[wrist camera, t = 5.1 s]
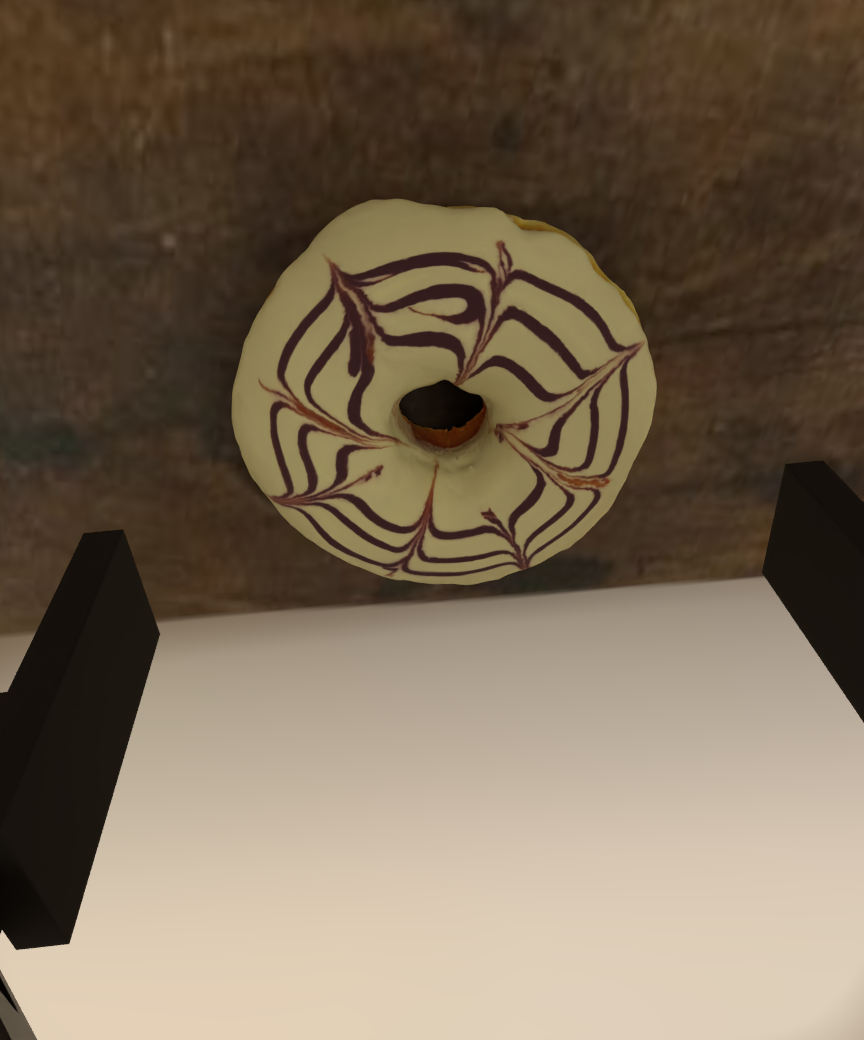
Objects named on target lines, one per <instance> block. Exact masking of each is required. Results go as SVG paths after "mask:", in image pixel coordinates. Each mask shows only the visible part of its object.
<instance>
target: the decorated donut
mask: <svg viewBox="0 0 864 1040" xmlns="http://www.w3.org/2000/svg"><path fill="white" fill-rule="evenodd" d="M441 380H448V381H450V382H451V383H453V384H454V385H456V386H458V387H459V388H461V389H462V390H464V391H466V392H468V393H472V394H478V395H480V396H481V397H482V399H483V405H484V406H483V408H482V410H481V411H480V412H479V413H477V415H476V416H475V417H474V418H473V419H472V420H470V421H469V422H466V425H464V426H462V427H460V428H456V427H453V430H450V431H448V430H447V428H446V430H441V429H440V430H438V429H437V430H434V429H432V428H427V427H421V426H418V425H415V424H413V423H412V422H411V421H410V420H408V419H407V418H406V417H405V416H404V415H402V412H401V410H400V408H399V403H400V401H401V399H402V398H403V397H404V396H405V395H406V394H407V393H409V392H410V391H412V390H415V389H417V388H420V387H424V386H428V385H433V384H435V383H437V382H439V381H441ZM656 390H657V385H656V378H655V374H654V367H653V362H652V358H651V355H650V353H649V350H648V342H647V338H646V335H645V334H644V332H643V330H642V328H641V324H640V322H639V317H638V315H637V313H636V311H635V308H634V306H633V304H632V302H631V300H630V299H629V298H628V297H627V296H626V294H625V292H624V291H623V290H621V289H620V288H619V287H618V286H617V285H616V284H615V283H613V282H612V281H611V280H610V279H608V277H607V276H606V275H605V274H604V273H603V272H602V271H601V269H600V268H599V267H598V265H597V263H596V262H595V260H594V258H593V256H592V255H591V254H590V253H589V252H588V251H587V250H585V249H584V248H583V247H582V246H581V245H580V244H579V243H578V242H577V241H576V239H575V238H573V237H572V236H570V235H569V234H567V233H565V232H564V231H562V230H559V229H557V228H555V227H553V226H550V225H548V224H547V223H545V222H540V221H536V220H523V219H521V218H520V217H517V216H514V215H510V214H505V213H504V212H502V211H500V210H498V209H497V208H493V207H490V208H489V207H474V206H449V207H446V208H445V207H442V206H437V205H431V204H420V203H416V202H413V201H409V200H404V199H389V200H370V201H367V202H365V203H362V204H359V205H356V206H354V207H352V208H350V209H348V210H347V211H345V212H344V213H342V214H341V215H339V216H337V217H336V218H335V219H334V220H332V221H331V222H330V223H329V224H328V225H327V226H326V227H325V228H324V229H323V230H322V231H320V232H319V233H318V235H317V236H316V237H315V238H314V240H313V241H312V242H311V244H310V246H309V247H308V249H307V250H306V251H305V252H303V253H302V254H301V255H300V256H299V257H298V258H297V259H296V260H295V261H294V262H293V263H292V264H291V265H290V266H289V267H288V268H287V269H286V270H285V271H284V272H283V274H282V275H281V276H280V278H279V279H278V281H277V283H276V286H275V287H274V288H273V290H272V291H271V293H270V294H269V296H268V297H267V298H266V300H265V302H264V304H263V306H262V308H261V309H260V311H259V312H258V314H257V316H256V318H255V320H254V322H253V324H252V327H251V329H250V332H249V334H248V336H247V337H246V339H245V341H244V345H243V350H242V354H241V359H240V363H239V367H238V371H237V374H236V378H235V382H234V385H233V392H232V424H233V429H234V434H235V438H236V441H237V443H238V445H239V447H240V451H241V455H242V458H243V460H244V462H245V464H246V466H247V469H248V471H249V473H250V475H251V477H252V478H253V479H254V481H255V482H256V483H257V484H258V485H259V487H260V488H261V490H262V491H263V492H264V493H265V495H266V496H267V497H268V498H269V499H270V500H271V502H272V503H273V504H274V506H275V507H276V509H277V510H278V511H279V513H280V514H281V515H282V516H283V517H284V518H285V519H286V520H287V521H288V522H289V523H290V524H291V525H292V526H293V527H294V528H296V529H297V530H298V531H299V532H300V533H302V534H303V535H304V536H305V537H306V538H308V539H309V540H311V541H313V542H314V543H315V544H317V545H318V546H320V547H321V548H323V549H325V550H326V551H328V552H329V553H331V554H333V555H335V556H337V557H339V558H341V559H342V560H344V561H346V562H348V563H350V564H352V565H355V566H358V567H361V568H363V569H365V570H368V571H370V572H373V573H375V574H377V575H380V576H382V577H386V578H390V579H394V580H409V581H413V582H419V583H429V584H462V585H472V584H477V583H481V582H485V581H490V580H497V579H500V578H502V577H504V576H506V575H508V574H511V573H514V572H517V571H520V570H524V569H527V568H530V567H532V566H535V565H537V564H539V563H541V562H543V561H545V560H546V559H548V558H550V557H552V556H553V555H555V554H556V553H558V552H560V551H562V550H565V549H568V548H570V547H571V546H572V545H573V544H574V543H575V542H576V541H578V540H579V539H581V538H582V537H583V536H584V535H585V534H586V533H587V532H588V531H589V530H590V529H591V528H592V527H593V526H594V525H595V524H596V523H597V521H598V520H599V519H600V518H601V517H602V516H603V515H604V514H605V513H606V512H608V510H609V509H610V507H611V506H612V504H613V502H614V501H615V499H616V497H617V495H618V493H619V491H620V489H621V488H622V486H623V484H624V482H625V481H626V479H627V475H628V473H629V471H630V469H631V467H632V464H633V462H634V460H635V458H636V456H637V454H638V452H639V450H640V448H641V446H642V444H643V442H644V440H645V439H646V436H647V434H648V431H649V428H650V426H651V422H652V417H653V411H654V406H655V400H656Z"/></svg>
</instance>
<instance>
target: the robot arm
mask: <svg viewBox="0 0 864 1040" xmlns="http://www.w3.org/2000/svg"><path fill="white" fill-rule="evenodd" d="M762 573H763V575H764V576H765V578H766V579H767V581H768V582H769V583H770V585H771V587H772V588H773V589H774V591H775V592H776V594H777V595H778V597H779V598H780V600H781V601H782V603H783V604H784V606H785V607H786V609H787V610H788V612H789V613H790V615H791V616H792V617H793V619H794V620H795V622H796V623H797V625H798V626H799V628H800V629H801V631H802V632H803V633H804V635H805V637H806V638H807V639H808V641H809V643H810V644H811V646H812V647H813V648H814V650H815V651H816V653H817V654H818V656H819V657H820V659H821V660H822V662H823V663H824V665H825V666H826V667H827V669H828V671H829V672H830V673H831V675H832V676H833V678H834V679H835V681H836V682H837V684H838V685H839V687H840V688H841V690H842V691H843V693H844V694H845V695H846V697H847V699H848V700H849V701H850V703H851V704H852V706H853V707H854V709H855V710H856V712H857V713H858V715H859V716H860V718H861V719H862V721H863V722H864V503H863V502H862V501H861V500H860V499H859V497H858V496H857V495H856V494H855V493H854V492H853V491H852V490H851V489H850V488H849V487H848V486H847V485H846V484H845V483H844V482H843V481H842V480H841V479H840V478H839V477H838V476H837V474H836V473H835V472H834V471H833V470H832V469H831V468H830V467H829V466H828V465H827V464H826V463H825V462H824V461H813V462H803V463H793V464H785V469H784V473H783V478H782V482H781V487H780V492H779V496H778V501H777V505H776V510H775V515H774V519H773V524H772V528H771V533H770V538H769V542H768V547H767V551H766V556H765V561H764V565H763V570H762ZM159 636H160V633H159V630H158V627H157V624H156V621H155V618H154V616H153V613H152V610H151V607H150V604H149V601H148V598H147V596H146V593H145V590H144V587H143V584H142V581H141V579H140V576H139V573H138V570H137V567H136V564H135V561H134V559H133V556H132V553H131V550H130V547H129V544H128V541H127V539H126V536H125V533H124V530H113V531H103V532H93V533H84V534H83V536H82V538H81V540H80V542H79V544H78V546H77V548H76V550H75V553H74V555H73V557H72V559H71V561H70V563H69V565H68V567H67V569H66V571H65V573H64V575H63V578H62V580H61V582H60V584H59V586H58V588H57V590H56V592H55V594H54V596H53V598H52V600H51V602H50V605H49V607H48V609H47V611H46V613H45V615H44V617H43V619H42V621H41V623H40V625H39V627H38V630H37V632H36V634H35V636H34V638H33V640H32V642H31V644H30V647H29V648H28V650H27V652H26V654H25V657H24V659H23V661H22V663H21V665H20V667H19V669H18V671H17V673H16V675H15V678H14V680H13V682H12V684H11V686H10V688H9V690H8V692H3V693H0V933H1V930H3V932H4V933H5V934H6V936H7V937H8V939H9V940H10V942H11V943H12V944H13V946H14V947H15V949H16V950H19V949H28V948H37V947H46V946H54V945H64V944H69V943H70V940H71V936H72V933H73V929H74V926H75V923H76V919H77V916H78V912H79V909H80V906H81V902H82V899H83V895H84V892H85V888H86V885H87V881H88V878H89V875H90V871H91V868H92V865H93V861H94V858H95V854H96V851H97V847H98V844H99V841H100V837H101V834H102V830H103V827H104V823H105V820H106V816H107V813H108V810H109V806H110V803H111V800H112V796H113V793H114V789H115V786H116V783H117V779H118V775H119V772H120V769H121V765H122V762H123V759H124V755H125V752H126V748H127V745H128V741H129V738H130V735H131V731H132V728H133V724H134V721H135V718H136V714H137V711H138V707H139V704H140V701H141V697H142V694H143V690H144V687H145V683H146V680H147V677H148V673H149V670H150V666H151V663H152V660H153V656H154V653H155V649H156V646H157V642H158V639H159ZM0 1040H37V1039H36V1037H35V1035H34V1033H33V1031H32V1029H31V1027H30V1025H29V1023H28V1022H27V1020H26V1018H25V1016H24V1014H23V1012H22V1011H21V1008H20V1006H19V1005H18V1003H17V1001H16V999H15V997H14V995H13V993H12V992H11V989H10V988H9V986H8V984H7V982H6V980H5V978H4V976H3V974H2V973H1V971H0Z"/></svg>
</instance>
